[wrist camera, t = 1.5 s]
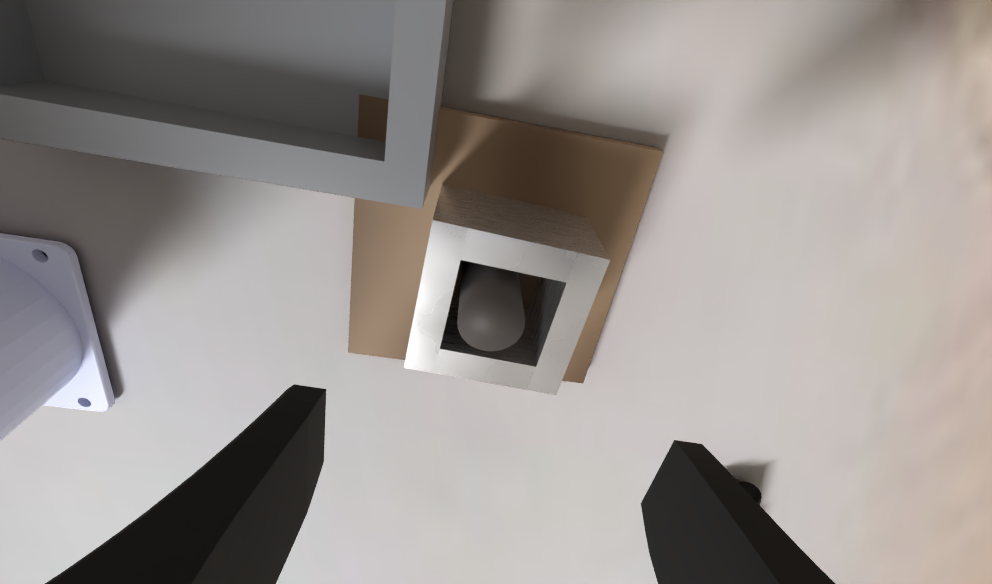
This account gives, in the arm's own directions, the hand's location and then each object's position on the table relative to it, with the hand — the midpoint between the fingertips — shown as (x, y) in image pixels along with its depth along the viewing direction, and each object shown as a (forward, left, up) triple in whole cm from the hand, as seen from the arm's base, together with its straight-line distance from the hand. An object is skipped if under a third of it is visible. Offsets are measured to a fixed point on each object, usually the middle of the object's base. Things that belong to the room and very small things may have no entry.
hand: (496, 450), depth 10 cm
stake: (0, 0, -10) cm, 10 cm away
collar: (0, 0, -9) cm, 9 cm away
